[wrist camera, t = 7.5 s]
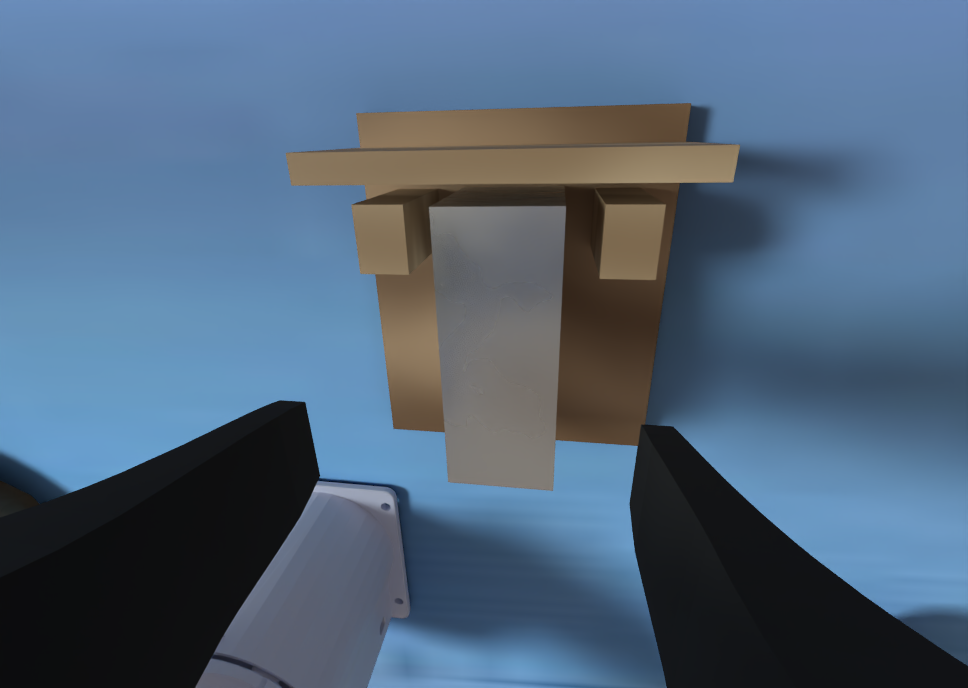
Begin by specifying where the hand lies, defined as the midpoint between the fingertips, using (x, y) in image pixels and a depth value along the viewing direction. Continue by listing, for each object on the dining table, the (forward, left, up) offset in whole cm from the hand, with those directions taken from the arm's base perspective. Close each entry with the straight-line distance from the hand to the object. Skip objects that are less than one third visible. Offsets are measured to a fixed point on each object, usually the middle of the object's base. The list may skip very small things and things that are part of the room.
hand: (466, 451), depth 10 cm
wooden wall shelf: (+1, 0, -10) cm, 10 cm away
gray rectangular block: (0, 0, -9) cm, 9 cm away
